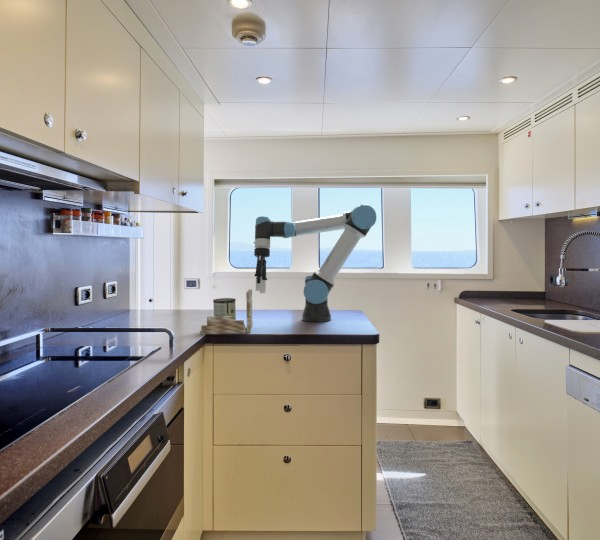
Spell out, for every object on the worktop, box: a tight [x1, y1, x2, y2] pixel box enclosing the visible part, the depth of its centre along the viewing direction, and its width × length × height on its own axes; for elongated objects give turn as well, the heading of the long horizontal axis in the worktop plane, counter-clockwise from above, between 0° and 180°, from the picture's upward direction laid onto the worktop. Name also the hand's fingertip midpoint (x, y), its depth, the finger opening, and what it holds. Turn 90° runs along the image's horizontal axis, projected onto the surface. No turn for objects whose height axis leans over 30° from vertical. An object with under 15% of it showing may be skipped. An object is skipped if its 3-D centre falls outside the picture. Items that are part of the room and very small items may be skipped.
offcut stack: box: [200, 315, 246, 331], centre depth 183 cm, size 19×2×6 cm, turn 93°
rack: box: [199, 288, 254, 334], centre depth 190 cm, size 22×16×18 cm
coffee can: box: [212, 297, 237, 320], centre depth 193 cm, size 10×10×14 cm
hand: (260, 292), depth 198 cm, fingers open, 13 cm apart
